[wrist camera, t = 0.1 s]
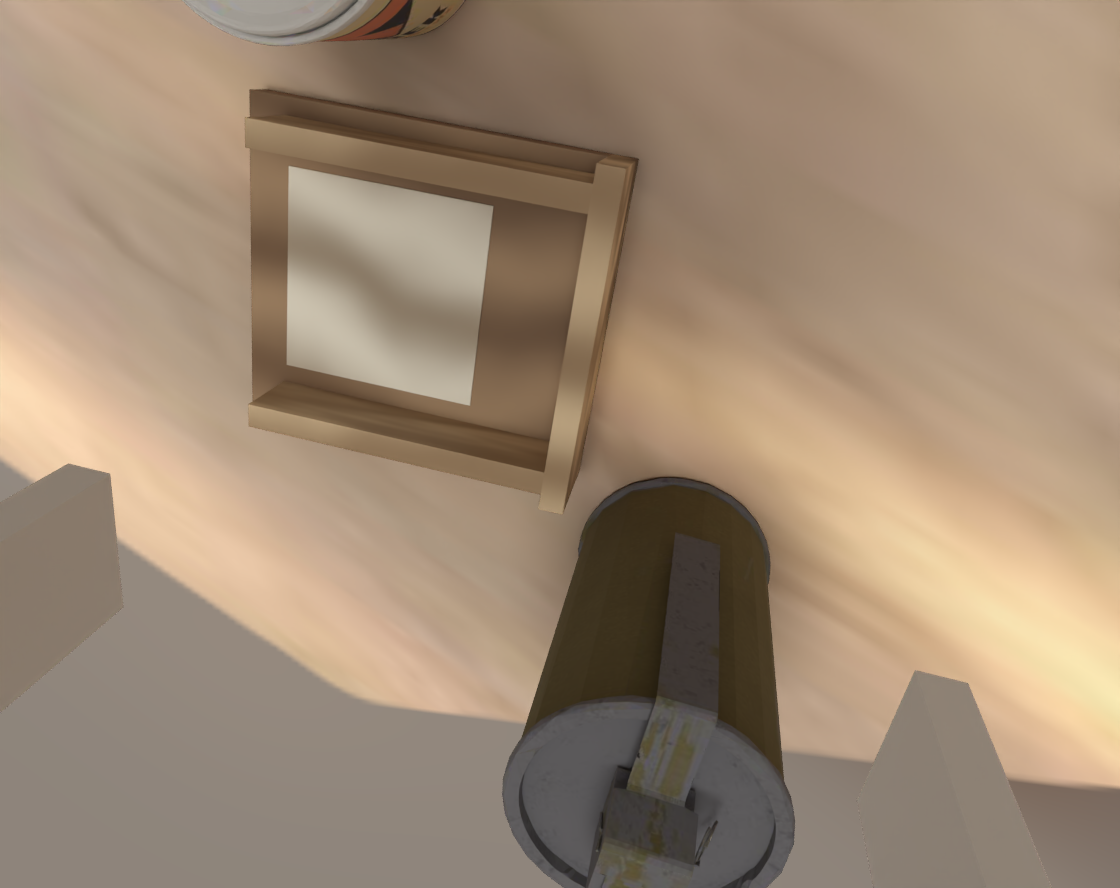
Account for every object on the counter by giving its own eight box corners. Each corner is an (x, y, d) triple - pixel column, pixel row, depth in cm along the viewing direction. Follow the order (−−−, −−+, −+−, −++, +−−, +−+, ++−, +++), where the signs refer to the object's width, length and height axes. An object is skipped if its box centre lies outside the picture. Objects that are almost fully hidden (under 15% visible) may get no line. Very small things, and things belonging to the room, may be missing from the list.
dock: (266, 89, 38) (204, 89, 33) (638, 158, 36) (626, 168, 31) (266, 398, 45) (215, 432, 40) (579, 470, 43) (562, 514, 38)
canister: (736, 660, 46) (742, 1028, 28) (561, 608, 47) (459, 933, 29) (800, 500, 41) (858, 819, 23) (605, 446, 42) (515, 712, 24)
